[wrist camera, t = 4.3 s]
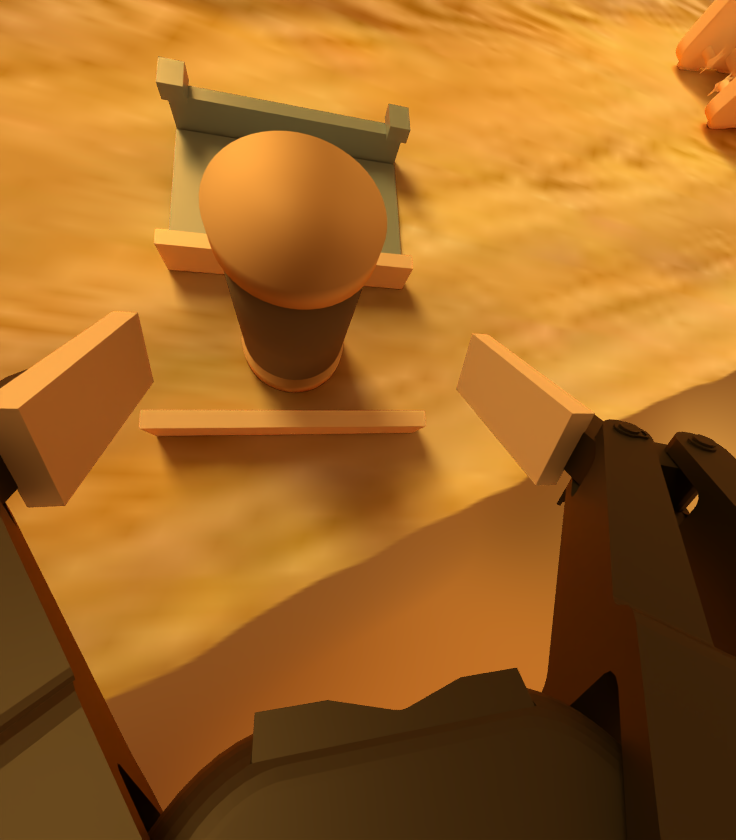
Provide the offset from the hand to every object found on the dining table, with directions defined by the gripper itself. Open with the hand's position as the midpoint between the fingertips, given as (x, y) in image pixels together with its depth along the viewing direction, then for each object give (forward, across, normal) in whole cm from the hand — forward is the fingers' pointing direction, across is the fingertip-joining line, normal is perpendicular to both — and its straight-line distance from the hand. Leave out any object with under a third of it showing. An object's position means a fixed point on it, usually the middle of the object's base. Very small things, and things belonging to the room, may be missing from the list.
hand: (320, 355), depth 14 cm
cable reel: (+9, -1, -3) cm, 10 cm away
